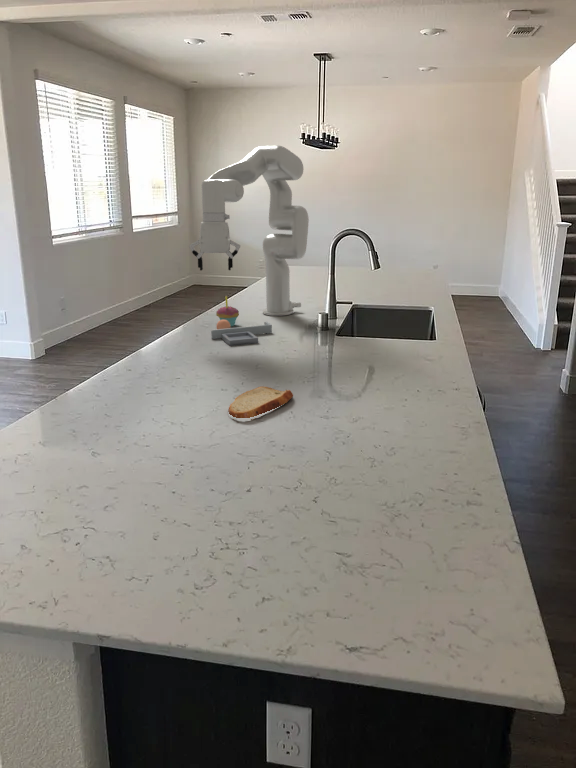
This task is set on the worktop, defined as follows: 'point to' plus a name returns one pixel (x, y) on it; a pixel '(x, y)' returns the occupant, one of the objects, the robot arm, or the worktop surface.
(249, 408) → the bread slice
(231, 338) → the dish
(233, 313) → the cupcake
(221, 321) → the ball
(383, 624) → the worktop surface
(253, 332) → the wall
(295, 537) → the worktop surface
